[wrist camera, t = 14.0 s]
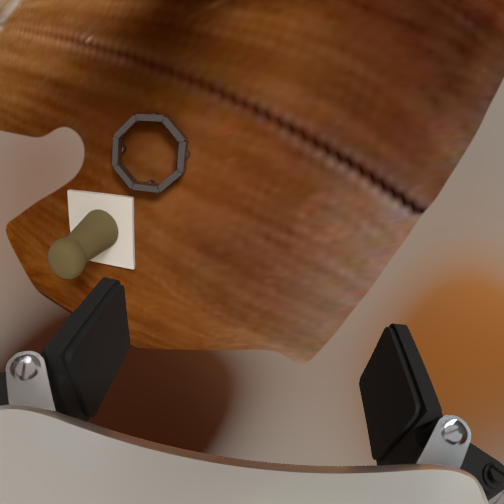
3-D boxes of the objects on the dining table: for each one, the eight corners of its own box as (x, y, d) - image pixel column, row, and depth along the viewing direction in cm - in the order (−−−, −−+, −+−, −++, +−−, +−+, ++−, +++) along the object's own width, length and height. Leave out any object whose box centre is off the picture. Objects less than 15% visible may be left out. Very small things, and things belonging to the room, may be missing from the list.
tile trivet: (69, 189, 41) (67, 190, 41) (134, 196, 41) (132, 198, 41) (75, 255, 46) (73, 257, 46) (135, 267, 46) (133, 269, 45)
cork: (90, 249, 45) (51, 287, 35) (79, 212, 42) (34, 244, 32) (123, 246, 44) (86, 286, 34) (112, 206, 41) (69, 239, 31)
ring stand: (121, 111, 36) (113, 112, 34) (194, 115, 36) (189, 116, 34) (118, 183, 40) (111, 188, 38) (186, 191, 40) (182, 196, 38)
